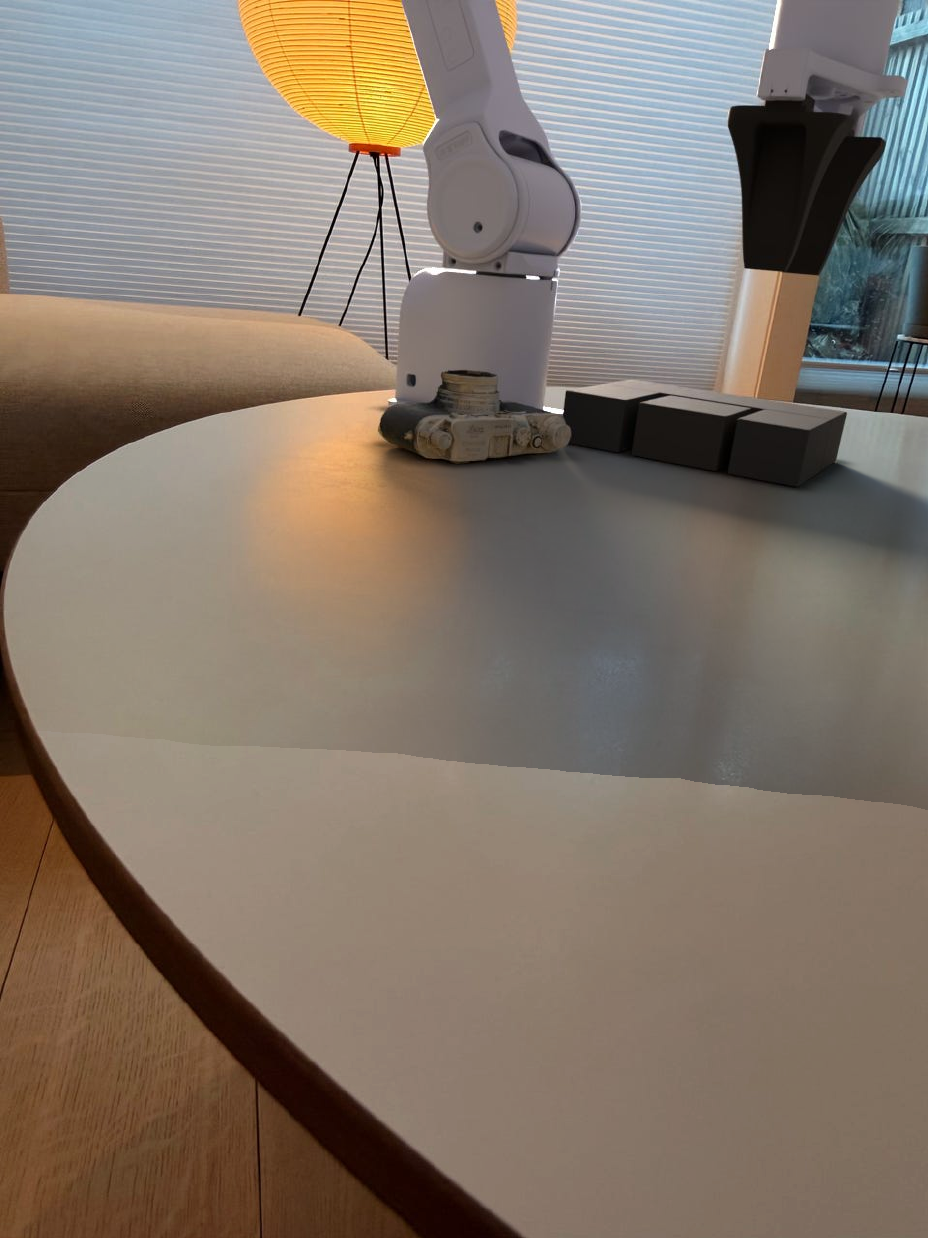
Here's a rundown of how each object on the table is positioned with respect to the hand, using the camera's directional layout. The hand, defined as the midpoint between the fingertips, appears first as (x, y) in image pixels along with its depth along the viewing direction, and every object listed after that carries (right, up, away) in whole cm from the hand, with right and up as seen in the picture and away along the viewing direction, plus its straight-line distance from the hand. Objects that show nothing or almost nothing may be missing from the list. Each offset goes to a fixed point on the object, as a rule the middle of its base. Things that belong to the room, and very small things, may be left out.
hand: (783, 272), depth 51 cm
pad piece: (-4, -9, +4) cm, 11 cm away
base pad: (-3, -9, +6) cm, 11 cm away
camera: (-17, -10, 0) cm, 19 cm away
